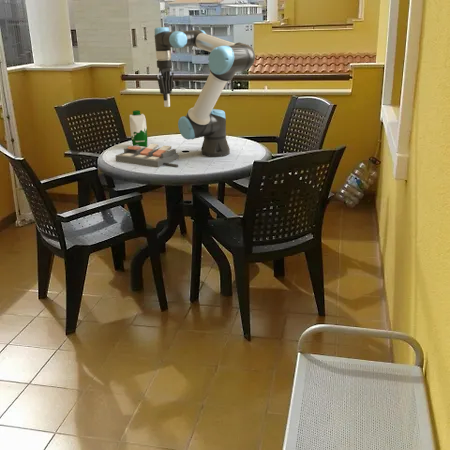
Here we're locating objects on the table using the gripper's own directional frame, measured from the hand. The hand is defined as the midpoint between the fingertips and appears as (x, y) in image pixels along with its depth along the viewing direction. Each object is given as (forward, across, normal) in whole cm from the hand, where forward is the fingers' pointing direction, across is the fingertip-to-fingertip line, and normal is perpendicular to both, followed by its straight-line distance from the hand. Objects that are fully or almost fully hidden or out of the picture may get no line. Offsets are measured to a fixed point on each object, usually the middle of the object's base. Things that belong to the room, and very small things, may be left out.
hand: (167, 106), depth 278 cm
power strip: (+24, +20, +3) cm, 31 cm away
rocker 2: (+20, +17, +7) cm, 27 cm away
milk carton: (+24, -1, -21) cm, 32 cm away
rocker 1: (+20, +17, -9) cm, 27 cm away
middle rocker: (+20, +17, -1) cm, 26 cm away
